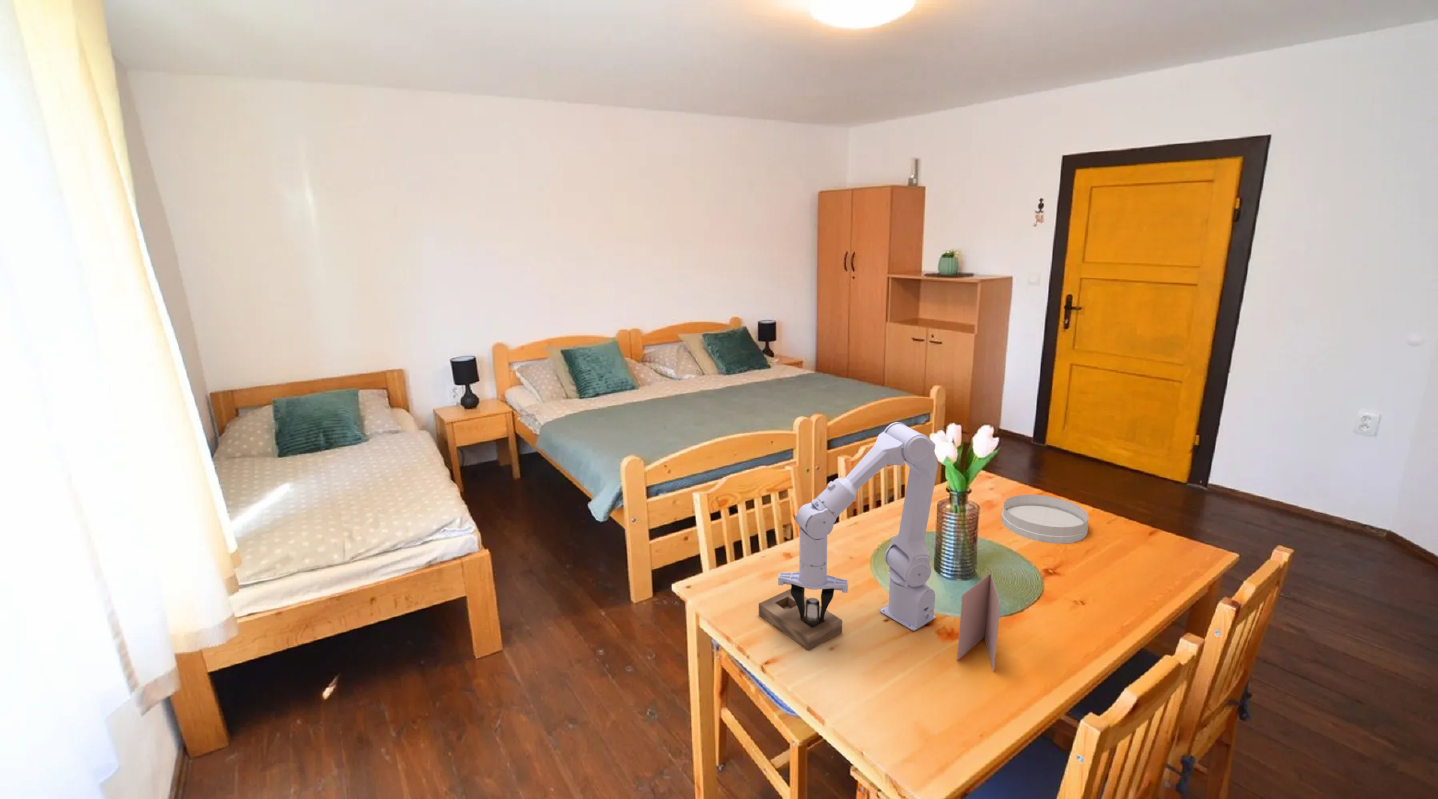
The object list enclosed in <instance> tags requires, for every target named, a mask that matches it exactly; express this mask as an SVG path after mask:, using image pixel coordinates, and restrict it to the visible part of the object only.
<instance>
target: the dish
mask: <svg viewBox="0 0 1438 799" xmlns="http://www.w3.org/2000/svg"><path fill="white" fill-rule="evenodd" d="M1001 512H1002V513H1001V522H1002V524H1003V526H1004V527H1005V528H1006V529H1008V530H1009V531H1011V532H1013V533H1014V534H1016V535H1018V536H1021V537H1024V538H1027V539H1029V540H1033V541H1037V542H1042V543H1049V544H1073V543H1077V542H1080V541H1082V540H1084V539H1086V536H1087V535H1088V530H1089V525H1088V524H1089V514H1088V513H1087V512H1086V510H1085V509H1084V508H1082V507H1080V506H1079V505H1077V504H1075V503H1073V502H1071V501H1068V500H1066V499H1062V498H1060V497H1059V498H1058V497H1054V496H1049V495H1041V494H1018V495H1015V496H1014V495H1013V496H1011V497H1008V498H1007V499H1006V500H1005V501H1004V502H1003V509H1002V511H1001Z"/></svg>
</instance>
